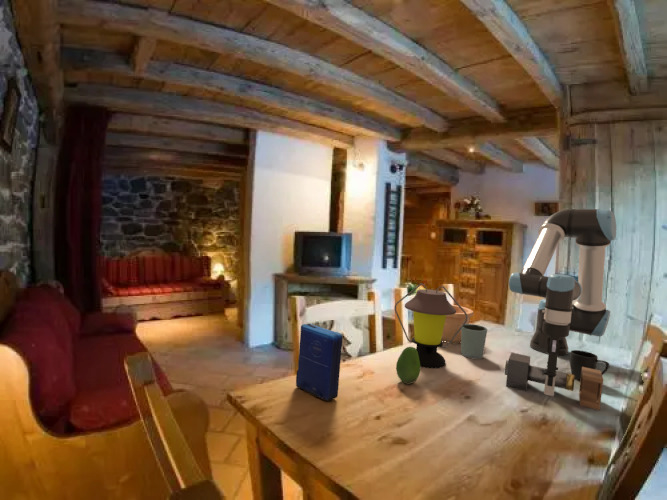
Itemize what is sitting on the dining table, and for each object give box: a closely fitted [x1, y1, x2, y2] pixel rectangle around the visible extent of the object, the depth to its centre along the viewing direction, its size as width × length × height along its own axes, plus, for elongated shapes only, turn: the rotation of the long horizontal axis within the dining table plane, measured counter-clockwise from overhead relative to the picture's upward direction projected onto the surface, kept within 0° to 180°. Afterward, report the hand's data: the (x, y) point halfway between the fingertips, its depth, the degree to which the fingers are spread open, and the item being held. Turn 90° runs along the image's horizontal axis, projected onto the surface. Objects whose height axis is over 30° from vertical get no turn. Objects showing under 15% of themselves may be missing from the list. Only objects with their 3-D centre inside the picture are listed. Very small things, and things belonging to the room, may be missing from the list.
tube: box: [504, 359, 575, 392], centre depth 127 cm, size 20×5×5 cm, turn 59°
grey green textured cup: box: [460, 323, 488, 360], centre depth 158 cm, size 10×10×12 cm
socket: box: [578, 367, 604, 411], centre depth 120 cm, size 9×5×10 cm, turn 149°
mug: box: [569, 349, 610, 382], centre depth 137 cm, size 8×12×10 cm
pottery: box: [441, 304, 474, 344], centre depth 181 cm, size 22×22×14 cm
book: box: [295, 323, 343, 402], centre depth 113 cm, size 14×5×20 cm, turn 49°
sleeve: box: [505, 352, 531, 392], centre depth 130 cm, size 8×6×9 cm
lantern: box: [393, 282, 467, 369], centre depth 147 cm, size 25×19×30 cm
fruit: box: [395, 346, 421, 384], centre depth 126 cm, size 8×8×12 cm
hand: (548, 391), depth 126 cm, fingers closed on tube, 5 cm apart
